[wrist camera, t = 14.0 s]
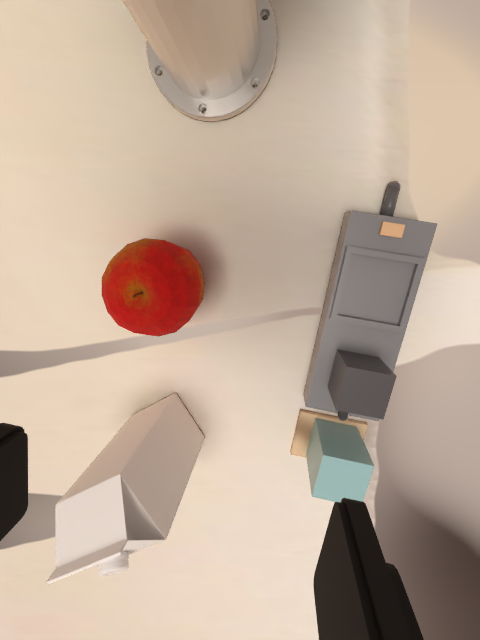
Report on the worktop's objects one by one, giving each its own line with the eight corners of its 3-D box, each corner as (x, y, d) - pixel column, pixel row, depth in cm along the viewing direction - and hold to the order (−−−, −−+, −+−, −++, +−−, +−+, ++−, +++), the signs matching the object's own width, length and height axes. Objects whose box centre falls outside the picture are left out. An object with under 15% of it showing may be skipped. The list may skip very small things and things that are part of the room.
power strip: (353, 176, 32) (377, 155, 25) (433, 188, 32) (484, 170, 24) (302, 398, 38) (309, 436, 31) (369, 411, 38) (393, 454, 30)
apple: (203, 230, 35) (166, 222, 24) (225, 307, 37) (202, 335, 25) (128, 253, 37) (59, 256, 25) (153, 326, 39) (99, 361, 27)
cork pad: (300, 409, 39) (300, 411, 38) (366, 422, 38) (367, 425, 38) (290, 451, 40) (290, 454, 40) (354, 464, 40) (355, 468, 39)
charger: (315, 417, 38) (323, 454, 31) (359, 427, 38) (377, 466, 31) (306, 453, 39) (311, 496, 33) (349, 462, 39) (364, 508, 32)
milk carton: (132, 414, 42) (18, 547, 23) (176, 391, 40) (91, 514, 22) (161, 457, 43) (73, 617, 24) (205, 436, 41) (148, 590, 23)
